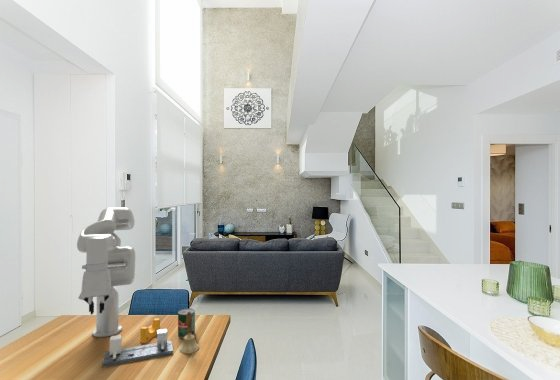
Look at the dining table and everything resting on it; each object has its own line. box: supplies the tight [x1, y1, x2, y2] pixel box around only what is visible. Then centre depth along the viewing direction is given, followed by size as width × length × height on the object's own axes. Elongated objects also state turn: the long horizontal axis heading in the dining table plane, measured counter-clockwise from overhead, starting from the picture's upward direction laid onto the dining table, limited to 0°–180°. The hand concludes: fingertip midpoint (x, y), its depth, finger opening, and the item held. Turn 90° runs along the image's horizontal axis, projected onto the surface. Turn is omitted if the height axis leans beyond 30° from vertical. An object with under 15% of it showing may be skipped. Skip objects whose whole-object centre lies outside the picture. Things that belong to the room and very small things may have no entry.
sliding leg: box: [109, 334, 123, 359], centre depth 128 cm, size 8×4×6 cm, turn 23°
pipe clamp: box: [139, 317, 161, 344], centre depth 149 cm, size 12×4×6 cm, turn 170°
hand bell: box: [178, 312, 200, 355], centre depth 137 cm, size 8×8×16 cm
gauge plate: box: [101, 328, 174, 368], centre depth 132 cm, size 10×26×8 cm, turn 113°
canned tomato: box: [177, 308, 196, 339], centre depth 151 cm, size 8×8×11 cm
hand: (96, 312), depth 128 cm, fingers open, 2 cm apart
